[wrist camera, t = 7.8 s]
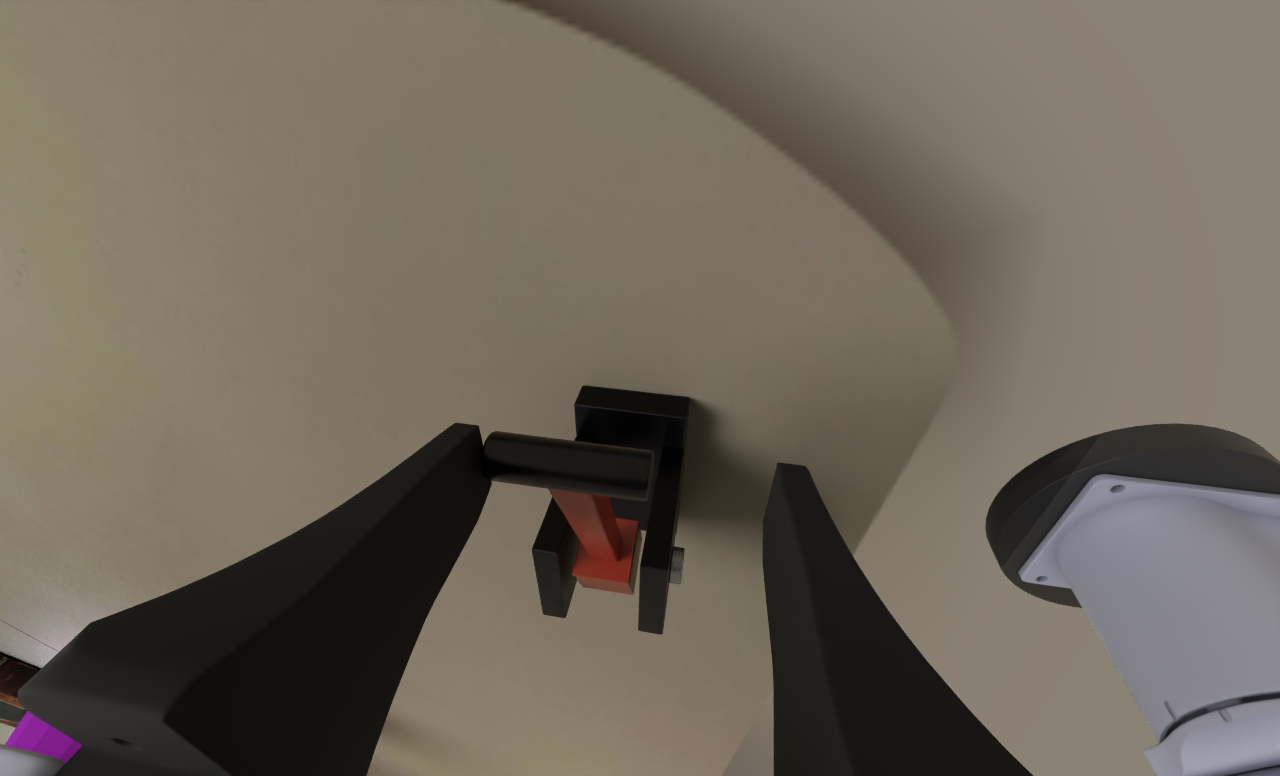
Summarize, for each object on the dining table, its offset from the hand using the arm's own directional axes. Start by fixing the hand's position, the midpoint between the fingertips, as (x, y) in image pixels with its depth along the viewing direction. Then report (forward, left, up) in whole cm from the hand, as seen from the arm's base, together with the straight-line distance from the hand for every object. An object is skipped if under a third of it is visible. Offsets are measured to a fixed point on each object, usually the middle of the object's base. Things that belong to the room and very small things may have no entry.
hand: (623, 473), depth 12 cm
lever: (+1, +4, -3) cm, 5 cm away
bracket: (+1, +9, -10) cm, 13 cm away
